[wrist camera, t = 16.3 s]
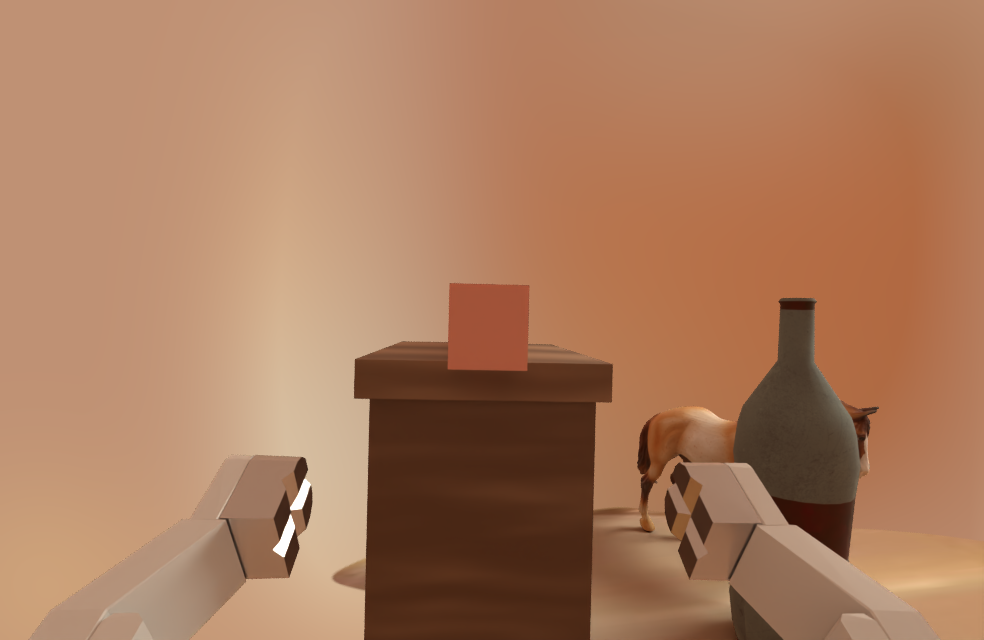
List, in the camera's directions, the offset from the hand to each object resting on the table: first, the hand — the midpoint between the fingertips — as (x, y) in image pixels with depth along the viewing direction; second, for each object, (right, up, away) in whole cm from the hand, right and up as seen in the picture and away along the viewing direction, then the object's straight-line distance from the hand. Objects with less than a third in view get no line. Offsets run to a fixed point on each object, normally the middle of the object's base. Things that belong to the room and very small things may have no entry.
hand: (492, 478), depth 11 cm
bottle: (+25, -25, +31) cm, 47 cm away
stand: (-1, -24, +15) cm, 29 cm away
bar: (-1, +2, +16) cm, 16 cm away
